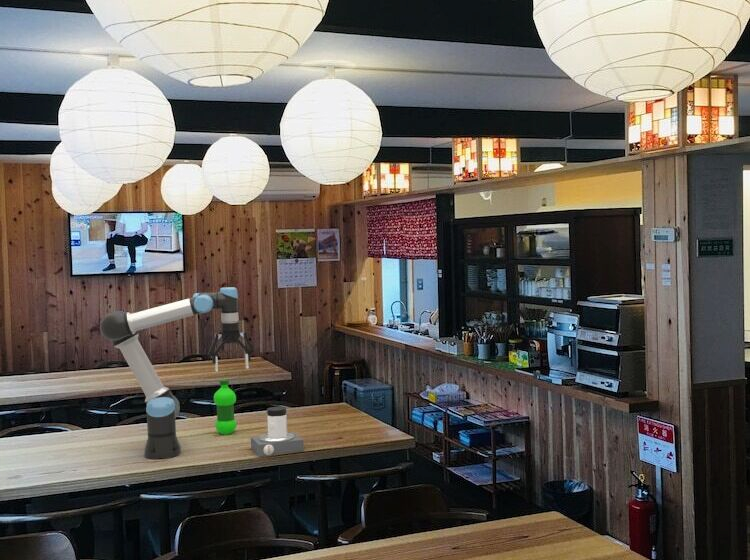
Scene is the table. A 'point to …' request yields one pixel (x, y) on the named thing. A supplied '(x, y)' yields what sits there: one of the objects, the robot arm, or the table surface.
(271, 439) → the scale pan
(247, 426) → the table surface
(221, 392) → the plastic bottle
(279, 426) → the jar
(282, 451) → the scale body
